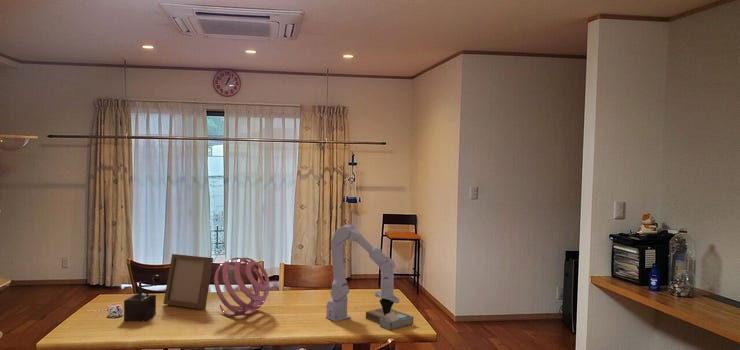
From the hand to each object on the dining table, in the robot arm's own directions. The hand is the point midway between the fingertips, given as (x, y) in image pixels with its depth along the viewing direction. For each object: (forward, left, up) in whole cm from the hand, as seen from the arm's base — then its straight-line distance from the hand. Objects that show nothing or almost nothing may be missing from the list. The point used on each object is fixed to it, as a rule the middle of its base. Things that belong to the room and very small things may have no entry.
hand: (386, 315), depth 222 cm
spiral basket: (-47, +51, -4) cm, 69 cm away
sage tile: (+6, -3, -3) cm, 7 cm away
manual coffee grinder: (-85, +75, -4) cm, 113 cm away
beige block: (0, -3, -2) cm, 3 cm away
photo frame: (-61, +80, -4) cm, 101 cm away
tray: (+2, -5, -4) cm, 6 cm away
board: (+3, +5, -4) cm, 7 cm away
